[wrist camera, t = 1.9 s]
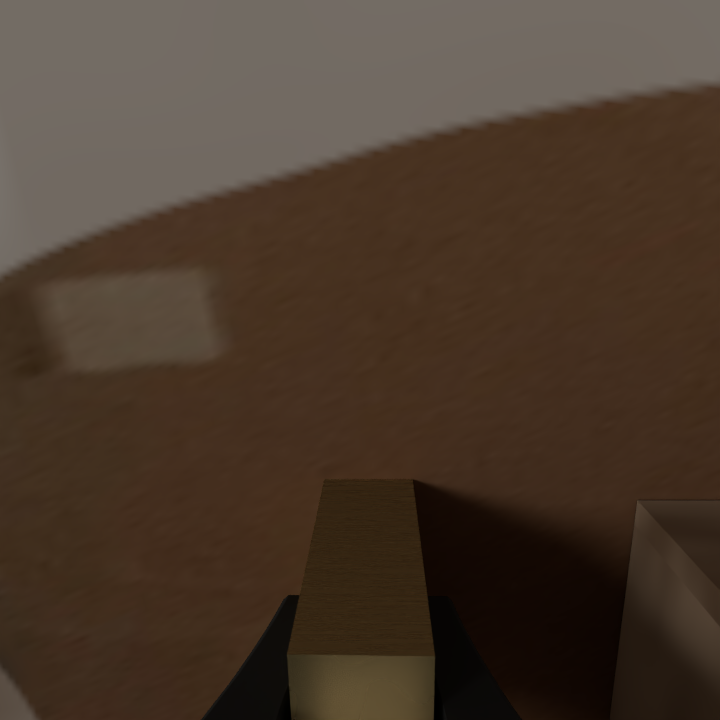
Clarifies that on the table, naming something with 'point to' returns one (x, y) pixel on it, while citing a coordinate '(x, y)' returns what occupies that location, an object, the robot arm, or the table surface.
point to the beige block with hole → (671, 615)
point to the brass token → (363, 609)
